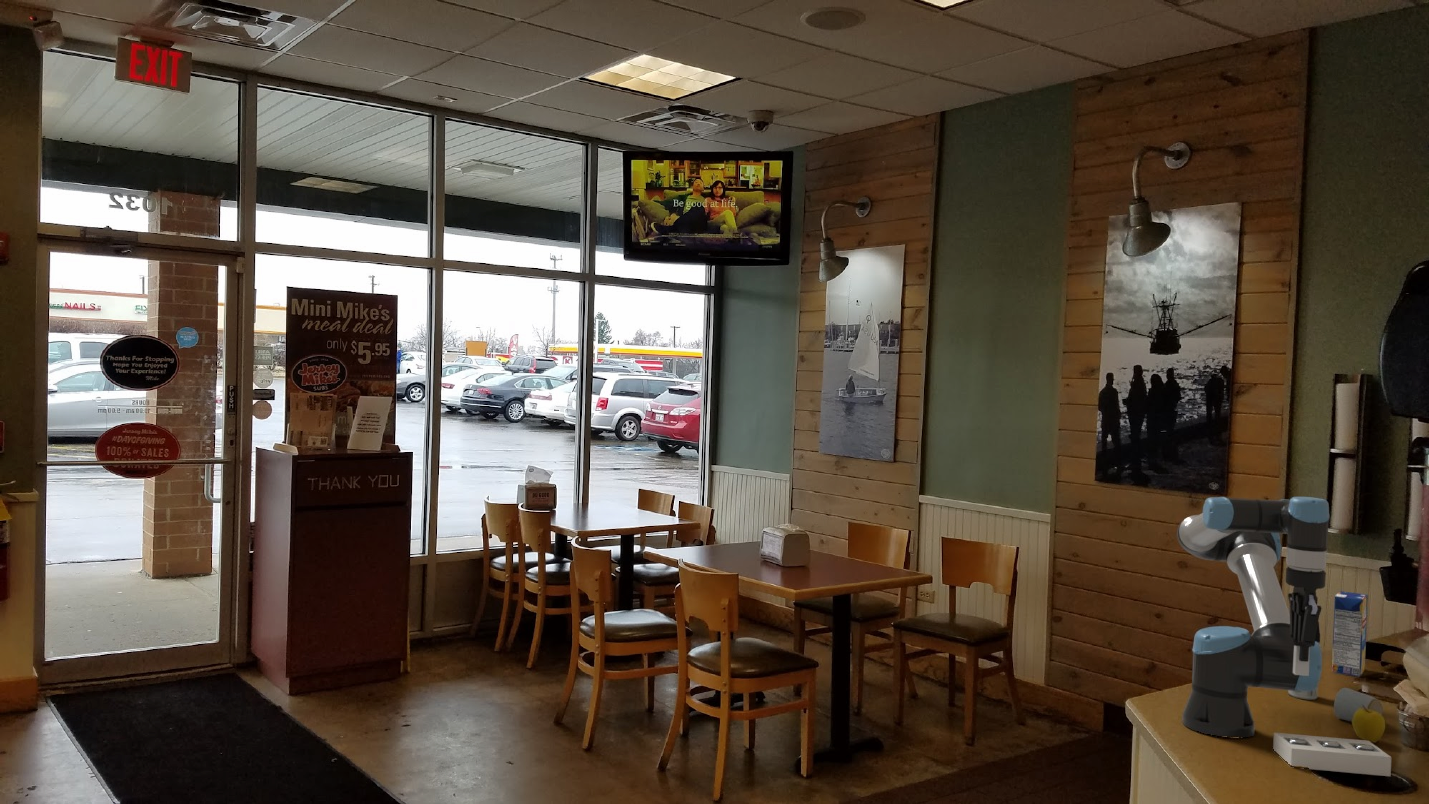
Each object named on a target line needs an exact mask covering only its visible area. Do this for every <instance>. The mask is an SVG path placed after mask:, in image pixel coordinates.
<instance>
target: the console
mask: <svg viewBox="0 0 1429 804" xmlns="http://www.w3.org/2000/svg"><path fill="white" fill-rule="evenodd" d="M1289 738H1299V739H1303V740H1305V741H1306V742H1307V746H1306V745H1294V744H1290V743H1289V742H1288V739H1289ZM1322 741H1332V742H1336V743H1338V744H1339V745H1341V749H1340V748H1328V747H1323V746H1322V745H1321V742H1322ZM1355 744H1366V745H1369V746H1372V747H1373V748H1374V752H1373V751H1362V750H1357V749H1356V748H1354V745H1355ZM1272 747H1273V748H1272V750H1273V749H1274V751H1276V752H1277V753H1278V754H1279V755H1280V756H1281V757H1282V758H1283V759H1284V760H1285V761H1287V762H1288V764H1290V765H1292V766H1302V767H1308V768H1309V769H1308V770H1315V771H1330V772H1339V773H1348V774H1349V773H1350V774H1359V775H1360V774H1361V775H1370V776H1382V777H1383V776H1385V777H1392V776H1391V775H1392V773H1391V772H1392V756H1390V755H1389V754H1388V753H1386V752H1385V751H1384V750H1382V749H1381V748H1379V747H1378V746H1377V745H1375V743H1372V742H1370V741H1365V740H1363V739H1354V738H1353V739H1352V738H1340V737H1331V736H1330V737H1329V736H1317V735H1306V734H1305V735H1304V734H1295V733H1283V732H1273V745H1272ZM1274 751H1273V752H1274ZM1280 756H1279V757H1280ZM1281 757H1280V758H1281ZM1282 758H1281V759H1282ZM1283 759H1282V760H1283ZM1284 760H1283V761H1284ZM1285 761H1284V762H1285ZM1288 764H1287V765H1288Z"/></svg>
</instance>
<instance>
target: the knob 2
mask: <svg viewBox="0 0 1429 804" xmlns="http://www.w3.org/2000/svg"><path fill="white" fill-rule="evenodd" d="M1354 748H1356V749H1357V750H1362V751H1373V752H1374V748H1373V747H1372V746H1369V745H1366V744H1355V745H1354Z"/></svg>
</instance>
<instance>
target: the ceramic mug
mask: <svg viewBox="0 0 1429 804" xmlns="http://www.w3.org/2000/svg"><path fill="white" fill-rule="evenodd" d="M1333 703H1334V704H1333V711H1334V715H1335V716H1336V718H1338V719H1339V720H1344V721H1346V722H1350V723H1352V719H1353V716H1354V714H1355V712H1356V711H1357V710H1358V709H1360V708H1364V707H1365V708H1366V709H1370V710H1373V711H1376V712H1378V713H1380V714H1381V715H1382V716H1383V711H1384V708H1383V704H1382V702H1381V701H1380V700H1379V699H1378V698H1376V697H1374V696H1373V695H1369V694H1365V693H1362V692H1360V691H1357V690H1355V689H1354V690H1353V689H1352V688H1349V687H1342V688H1341V689H1340V690H1338V692H1337V693H1336V695H1335V698H1334V702H1333ZM1363 705H1364V707H1363Z"/></svg>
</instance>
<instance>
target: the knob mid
mask: <svg viewBox="0 0 1429 804" xmlns="http://www.w3.org/2000/svg"><path fill="white" fill-rule="evenodd" d="M1321 745H1322V746H1323V747H1328V748H1340V749H1341V745H1339V744H1338V743H1336V742H1332V741H1322V742H1321Z"/></svg>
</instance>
